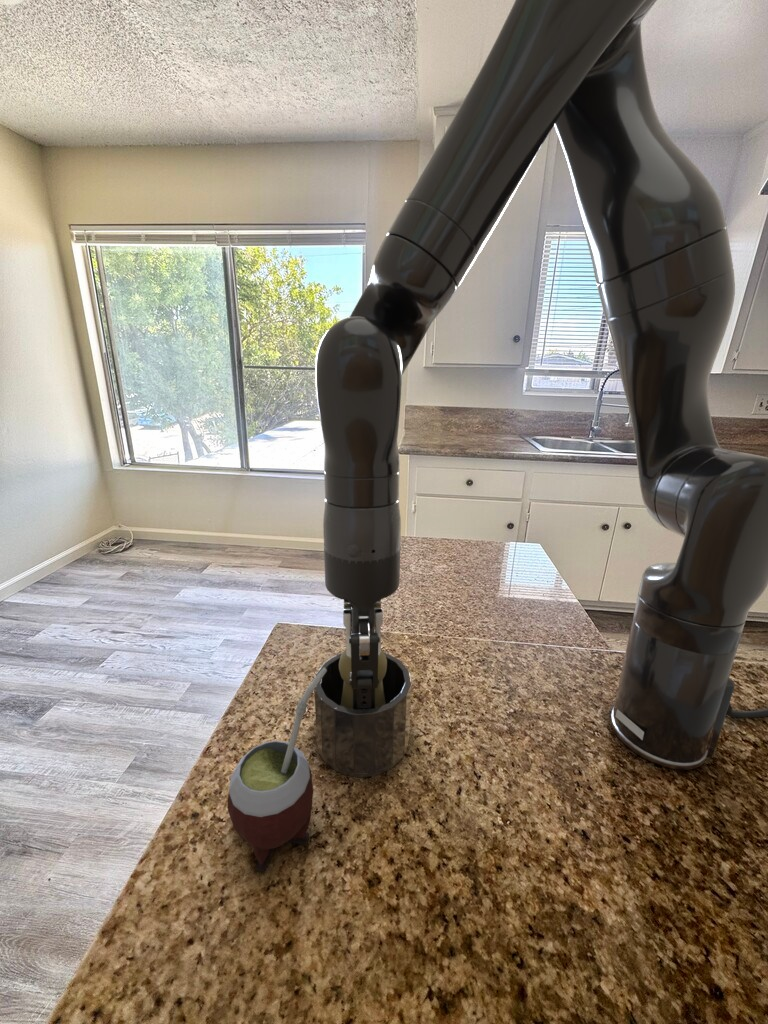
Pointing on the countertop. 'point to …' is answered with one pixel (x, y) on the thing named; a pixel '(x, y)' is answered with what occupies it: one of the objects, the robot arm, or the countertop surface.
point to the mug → (363, 723)
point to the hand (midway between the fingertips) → (363, 684)
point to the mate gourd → (273, 792)
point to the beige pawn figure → (345, 674)
